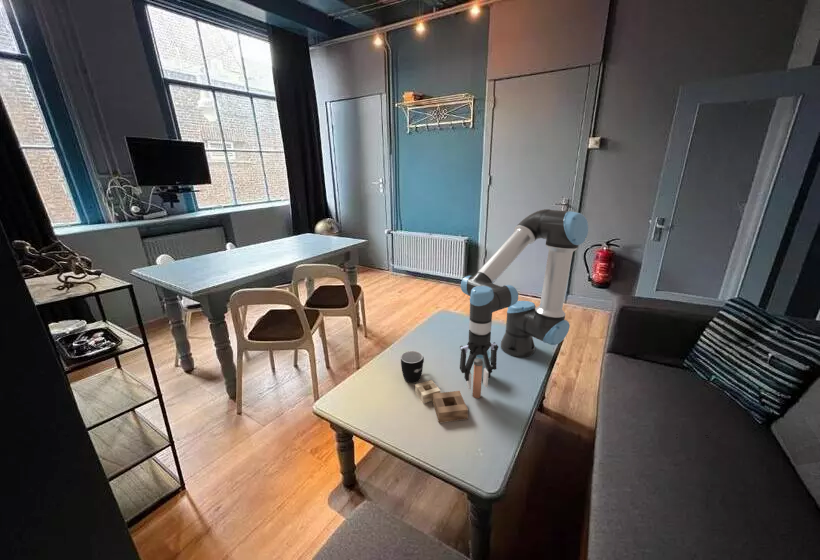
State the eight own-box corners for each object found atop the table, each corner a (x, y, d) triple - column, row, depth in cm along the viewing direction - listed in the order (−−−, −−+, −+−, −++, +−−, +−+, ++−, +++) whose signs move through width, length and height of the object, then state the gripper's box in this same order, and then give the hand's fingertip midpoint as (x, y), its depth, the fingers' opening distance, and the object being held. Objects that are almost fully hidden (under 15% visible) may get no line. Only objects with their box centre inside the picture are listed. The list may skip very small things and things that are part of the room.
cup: (469, 369, 138) (470, 348, 134) (487, 369, 138) (489, 348, 134) (473, 381, 131) (474, 358, 127) (492, 380, 131) (493, 358, 127)
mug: (414, 387, 127) (413, 365, 124) (396, 379, 133) (396, 358, 129) (431, 373, 136) (431, 352, 133) (414, 366, 141) (414, 345, 138)
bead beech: (431, 387, 127) (431, 379, 126) (440, 398, 121) (440, 390, 120) (415, 392, 125) (415, 384, 124) (423, 403, 119) (423, 395, 118)
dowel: (479, 392, 124) (480, 358, 119) (481, 398, 121) (484, 363, 116) (471, 393, 123) (472, 359, 118) (473, 399, 120) (475, 364, 116)
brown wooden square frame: (459, 399, 120) (459, 390, 119) (467, 419, 111) (467, 409, 110) (432, 402, 119) (432, 393, 118) (438, 422, 110) (438, 413, 108)
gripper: (501, 323, 118) (497, 377, 125) (450, 327, 115) (449, 382, 123) (510, 332, 111) (505, 389, 118) (456, 337, 108) (455, 395, 116)
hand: (477, 386), depth 121 cm, fingers open, 6 cm apart
